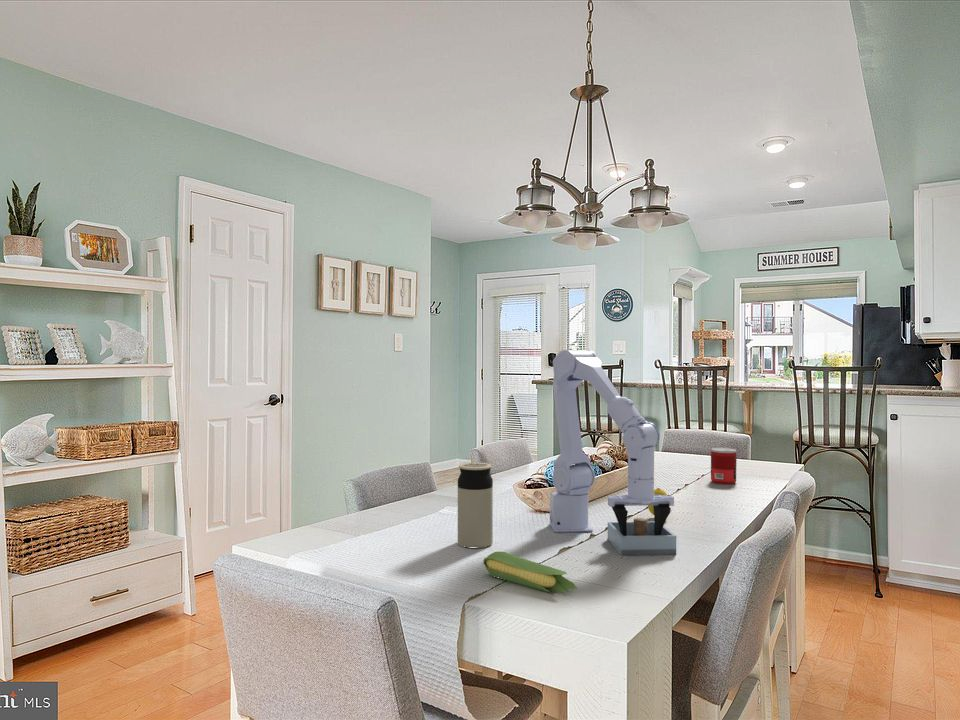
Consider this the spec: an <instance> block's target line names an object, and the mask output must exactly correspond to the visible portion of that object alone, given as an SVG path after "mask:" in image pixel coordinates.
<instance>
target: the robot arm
mask: <svg viewBox="0 0 960 720" xmlns="http://www.w3.org/2000/svg"><path fill="white" fill-rule="evenodd" d="M552 368H553V380H552V389H553V390H552V392H553V399H554V408H555V414H556V415H555V417H556V424H557V433H558V434H557V435H558V442H559V451H560V454H559V455H558V456H557V458H556V459H555V460H554V462H553V473H552V477H551V478H552V483H553V487H554V488H555V489H556V491H555V492H550V494H549V495H550V496H549V522H548V523H549V525H550V527H551V529H552V531H553V532H555V533H560V532H561V533H562V532H564V533H569V532H593V531H594V529H593V527H592V526H591V525H590V524H589V492H591V487H593V486H594V483H595V480H596V473H595V470H594V468H593V467H592V464H591V458H590V457H589V456H588V455H587V454H585V452H583V442H582V435H581V426H580V419H579V418H580V417H579V408H578V400H577V391H576V390H577V388H578V387H579V385H580V384H581V383H582V382H583V381H586V382H589V384H590V385H591V386H592V387H593V389H594V390H595V391H596V392H597V394H599V396H600V397H601V398H602V399H603V400H604V402H605V403H606V404H607V414H608V415H609V416H610V418H611V419H612V421H613V422H614V423H615V425H616V426H617V427H618V429H619V430H620V432H621V433H622V436H621V437H622V438H621V439H622V443H623V445H624V446H625V451H626V455H627V494H622V495H621V494H620V495H611V496H610V495H609V496H607V505H608V507H611V508H612V511H613V512H614V515H615V517H616V520H617V521H616V522H618V524H619V528H620V532H621V534H622V535H623V536H627V527H626V524H627V522H628V512H629V511H628V510H627V507H626V506H630V507H631V506H634V507H635V506H648V505H653V508H654V515H653V516H654V521H655V524H654V536H657V535H661V533H662V529H663V526H665V523H666V521H667V518H668V517H669V515H670V514H671V512H672V511H671V510H672V508H671V507H674V506H675V497H674V496H672V495H668V496H666V495H654V490H655V447H656V446H657V445H658V444H659V442H660V432H659V430H658V428H657V426H656V424H654V423H652V422H650V421H647V420H646V418H645V417H644V416H642V414H641V413H640V412H639V411H638V409H637V408H636V407H635V406H634V403H635V402H634V401H633V400H632V399H629V398H628V397H625V396H621V395H620V394H619V392H618V391H617V389H616V387H615V386H614V384H613V382H611V380H610V378H609V377H608V374H606V372H605V370H604V369H603V367H602V360H601V359H599V358H598V356H597V354H596V352H594V351H593V350H590V349H585V350H572V349H571V350H569V349H562V350H560V351H558V353H557V354H556V355H555V357H554V358H553V360H552Z"/></svg>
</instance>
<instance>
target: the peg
mask: <svg viewBox="0 0 960 720" xmlns="http://www.w3.org/2000/svg"><path fill="white" fill-rule="evenodd" d="M633 522H634V536H647V522H648V519H646V518H641V517H637V518H636V517H635V518H633Z"/></svg>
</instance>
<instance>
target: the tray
mask: <svg viewBox="0 0 960 720" xmlns="http://www.w3.org/2000/svg"><path fill="white" fill-rule="evenodd" d="M654 524H655V520H654V521H647V536H634V521H627V524H626V527H627V536H623V535H622V534H621V532H620V528H619V524H618V521H608V522H607V540H608V542H609V543H610V544H611V545H612V546H613V548H614V549H615V550H616V551H617V552H618V554H619V555H620V556H654V555H655V556H658V555H660V556H662V555H663V556H664V555H665V556H667V555H668V556H669V555H677V535H676V534H674V533H673V532H672V531H671V530H669V528H667V527H666V526H665V525H664V526H663V529H662V533H661V535H657V536H654Z"/></svg>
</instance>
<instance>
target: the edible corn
mask: <svg viewBox="0 0 960 720" xmlns="http://www.w3.org/2000/svg"><path fill="white" fill-rule="evenodd" d="M482 563H483V564H484V567H485V569H486V571H487V573H488V574H491V575H490V576H492V575H493V576H495V577H499V578H502V579H505V580H504V581H506V580H507V581H506V582H510V583H512V584H513V583H514V584H517V585H520V586H525V587H527V588H528V587H529V588H531V589H534V590H535V589H536V590H538V591H542V592H546V593H549V594H552V595H554V592H553V591H551V590H554V591H556V592H561V593H564V594H568V591H569V590H571V591H572V590H575V589H577V588H578V587H577V586H576V585H575V583H574V582H572V581H571V580H569V579H568V578H566V577H565V576H564V575H568V573H567V572H566V571H564V570H561V569H558V568H555V567H552V566H548V565H544V564H541V563H539V562H536V561H532V560H529V559H527V558H523V557H522V556H518V555H516V554H512V553H511V552H506V551H494V552H491V553H490V554H488V555H487V556H486V557H484V558H483V561H482ZM493 576H492V577H493ZM495 577H494V578H495ZM499 578H498V579H499ZM502 579H501V580H502ZM549 589H550V590H549ZM566 590H568V591H566Z"/></svg>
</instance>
